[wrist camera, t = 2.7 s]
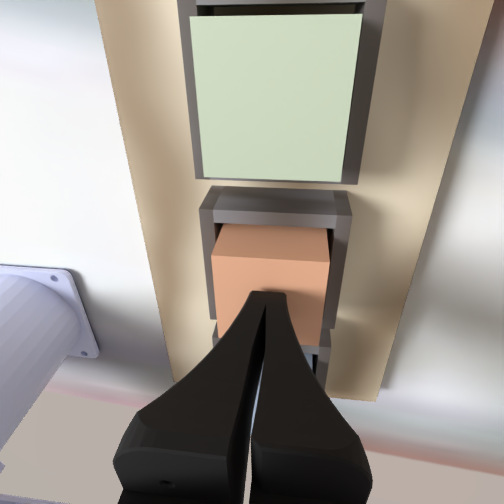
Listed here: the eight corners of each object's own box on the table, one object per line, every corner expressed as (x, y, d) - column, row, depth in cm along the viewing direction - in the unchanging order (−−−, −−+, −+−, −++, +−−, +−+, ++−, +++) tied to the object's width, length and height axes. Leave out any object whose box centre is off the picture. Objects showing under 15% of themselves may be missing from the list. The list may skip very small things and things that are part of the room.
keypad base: (179, 364, 27) (162, 414, 23) (102, -54, 14) (36, -77, 10) (372, 382, 25) (382, 438, 22) (495, -69, 12) (568, -103, 9)
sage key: (221, 149, 14) (203, 177, 12) (213, 16, 12) (189, 16, 9) (333, 151, 14) (340, 181, 11) (349, 14, 11) (362, 13, 9)
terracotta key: (230, 294, 18) (218, 337, 16) (225, 218, 16) (211, 255, 13) (316, 300, 18) (318, 346, 15) (325, 222, 15) (330, 262, 13)
